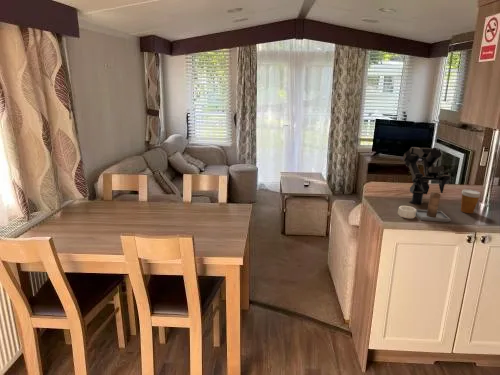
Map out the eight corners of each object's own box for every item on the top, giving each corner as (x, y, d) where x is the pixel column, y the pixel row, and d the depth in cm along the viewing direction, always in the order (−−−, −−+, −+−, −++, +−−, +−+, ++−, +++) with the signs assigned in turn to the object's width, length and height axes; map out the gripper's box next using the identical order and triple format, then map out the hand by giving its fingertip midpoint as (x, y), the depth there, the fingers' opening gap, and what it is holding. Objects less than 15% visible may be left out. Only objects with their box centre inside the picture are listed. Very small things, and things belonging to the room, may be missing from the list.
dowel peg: (425, 213, 205) (429, 192, 202) (434, 214, 205) (439, 192, 201) (427, 216, 201) (432, 194, 197) (437, 217, 200) (441, 195, 196)
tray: (413, 211, 209) (413, 209, 209) (440, 213, 208) (441, 210, 208) (420, 220, 198) (421, 217, 197) (450, 221, 197) (450, 219, 196)
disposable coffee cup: (471, 209, 217) (476, 189, 214) (479, 215, 208) (484, 194, 205) (454, 208, 218) (458, 188, 215) (461, 213, 209) (466, 193, 206)
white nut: (401, 211, 209) (402, 204, 208) (416, 215, 204) (418, 208, 203) (395, 215, 203) (397, 208, 202) (411, 219, 198) (413, 212, 197)
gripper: (417, 159, 203) (421, 184, 196) (452, 160, 202) (457, 186, 195) (410, 169, 213) (413, 193, 206) (443, 171, 212) (448, 195, 204)
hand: (433, 192), depth 202 cm, fingers open, 9 cm apart
